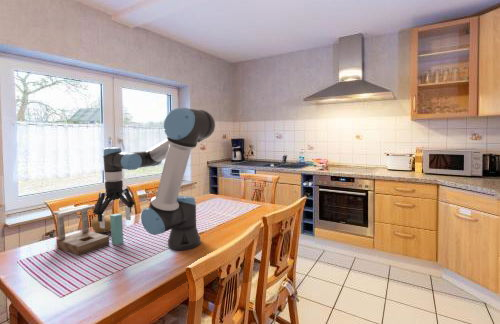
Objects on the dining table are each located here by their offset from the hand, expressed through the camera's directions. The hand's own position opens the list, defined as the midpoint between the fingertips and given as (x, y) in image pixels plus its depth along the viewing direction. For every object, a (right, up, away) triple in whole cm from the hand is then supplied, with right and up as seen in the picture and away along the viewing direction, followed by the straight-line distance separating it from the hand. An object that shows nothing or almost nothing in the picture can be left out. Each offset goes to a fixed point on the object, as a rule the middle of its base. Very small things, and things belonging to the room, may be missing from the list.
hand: (115, 223), depth 132 cm
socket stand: (-14, -10, -3) cm, 17 cm away
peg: (+1, -9, +1) cm, 10 cm away
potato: (-15, -8, +16) cm, 24 cm away
